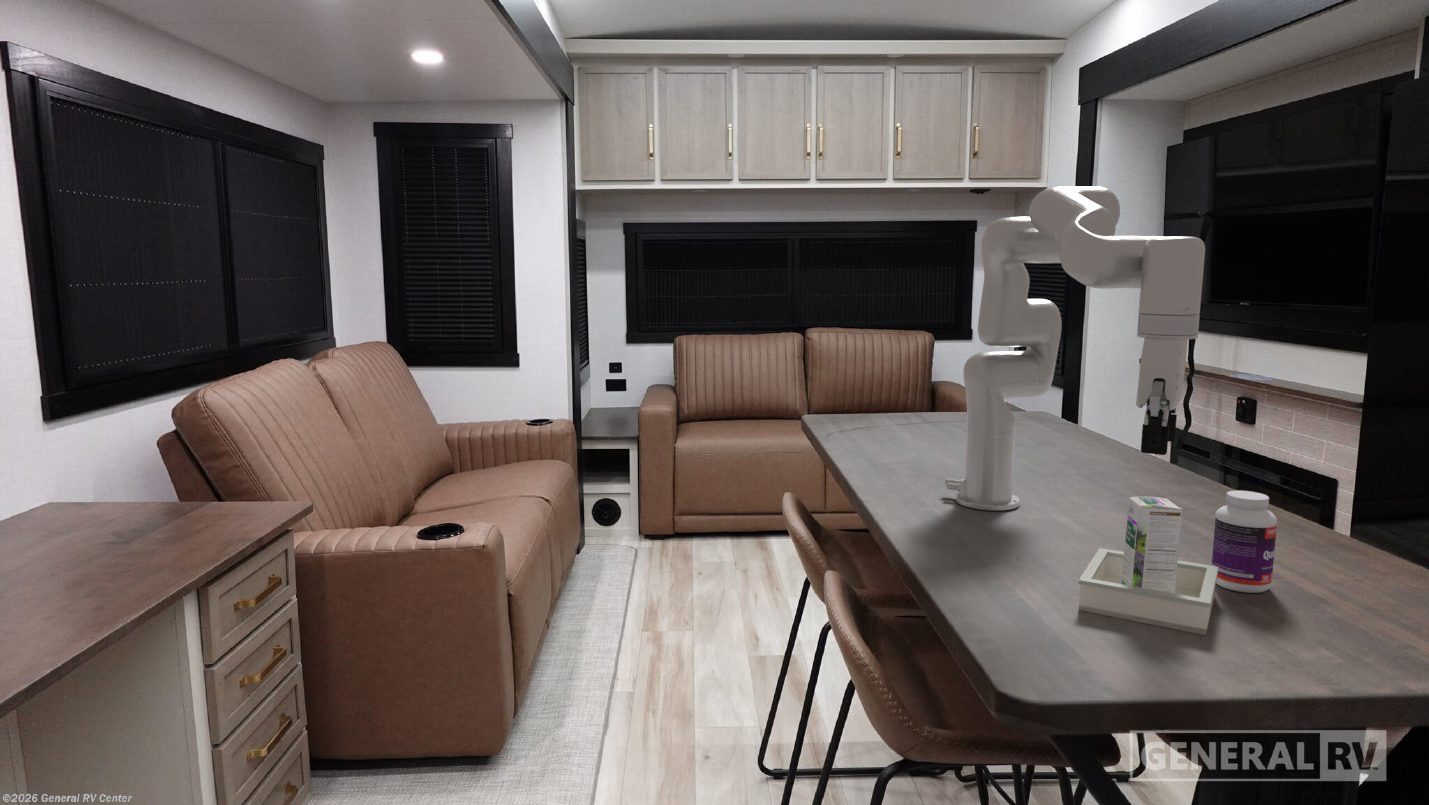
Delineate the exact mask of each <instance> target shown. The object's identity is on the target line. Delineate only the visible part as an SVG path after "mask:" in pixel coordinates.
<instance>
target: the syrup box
mask: <svg viewBox="0 0 1429 805" xmlns="http://www.w3.org/2000/svg"><path fill="white" fill-rule="evenodd" d="M1182 518H1183V508H1182V507H1179V506H1177V505H1176V504H1175V503H1174V502H1172V501H1171V500H1169V498H1164V497H1157V496H1130V497H1128V507H1127V515H1126V527H1125V528H1126V529H1125V538H1124V539H1125V540H1124V548H1123V549H1124V550H1123V552H1124V561H1123V573H1122V584H1123V585H1129V586H1135V587H1140V588H1146V589H1152V590H1157V591H1163V592H1169V593H1174V594H1175V587H1176V576H1177V564H1178V560H1179V550H1180V543H1181V542H1180V540H1181V530H1182V520H1183V519H1182Z"/></svg>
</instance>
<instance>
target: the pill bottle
mask: <svg viewBox="0 0 1429 805" xmlns="http://www.w3.org/2000/svg"><path fill="white" fill-rule="evenodd" d="M1225 500H1226V501H1225V502H1226V503H1227V504H1226V505H1223V506H1220V507H1219V508H1218V509H1217V510H1216V512H1215V516H1214V517H1215V520H1214V530H1213V531H1214V535H1213V543H1212V546H1213V547H1212V554H1211V556H1212V557H1211V565H1210V566H1217V567H1218V574H1217V578H1216V583H1215V585H1218V586H1220V587H1222V588H1224V589H1226V590H1230V591H1235V592H1240V593H1251V594H1254V593H1255V594H1257V593H1264V592H1266V591H1268V590H1269V589H1271V587H1272V582H1273V571H1274V560H1275V549H1276V539H1277V531H1278V530H1277V528H1278V519H1277V517H1276V515H1275V514H1274V513H1273V512H1272V511H1271V510H1268V509H1267V508H1269V505H1270V504H1269V503H1270V497H1269V496H1268V495H1267V494H1264V493H1260V492H1256V491H1252V490H1251V491H1249V490H1229V491H1227V492H1226V498H1225Z"/></svg>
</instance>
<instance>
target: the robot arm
mask: <svg viewBox="0 0 1429 805" xmlns="http://www.w3.org/2000/svg"><path fill="white" fill-rule="evenodd" d="M1117 197H1118V196H1116V195H1115V193H1114V192H1113V191H1112V190H1111V189H1108V188H1107V187H1102V186H1056V187H1049V188H1046V189H1044V190H1042V191H1041V192H1039V193H1038V194H1037V195H1036V196H1034V198H1033V200H1031V202H1030V205H1029V210H1028V216H1011V217H1010V216H1009V217H1002V218H999V219H996V220H993V221H991V222H990V223H989V224H988V225H987V226H986V229H985V230H984V233H983V235H982V239H981V260H982V265H983V274H984V278H983V285H982V292H981V298H980V306H979V315H978V320H977V321H978V322H977V333H978V339H979V340H980V341H981V343H983V345H985V346H988V347H993V348H1019V347H1020V348H1021V347H1022V348H1023V347H1024V348H1026V349H1025V350H998V351H997V350H993V351H991V350H990V351H983V352H978V353H975V354H973V355H971V356H970V357H969V358H967V360H966V362H965V364H964V366H963V381H964V382H963V383H964V389H965V398H966V433H965V434H966V438H965V463H964V464H965V465H964V466H965V467H964V478H961V479H955V478H949V477H946V479H945V481H944V483H945V484H944V486H945V487H946V489H947V490H952V491H954V490H955V491H957V492H958V493H957V494H956V499H955V500H956V502H957V503H958V504H960V505H961V506H964V507H966V508H968V509H969V508H970V509H973V510H981V511H992V512H993V511H994V512H995V511H996V512H997V511H998V512H999V511H1008V510H1009V511H1010V510H1013V509H1016V508H1018V507H1020V504H1021V500H1020V498H1019V497H1018V496H1017V495H1014V494H1013V488H1014V486H1013V485H1014V484H1013V483H1014V467H1015V466H1014V462H1015V461H1014V460H1015V444H1016V443H1015V441H1016V439H1015V438H1016V419H1015V416H1014V415H1015V414H1014V413H1013V412H1012V410H1011V408H1009V405H1008V404H1007V403H1006V401H1005V399H1012V398H1035V397H1036V398H1037V397H1041V396H1043V395H1045V394H1046V393H1047V392H1049V390H1050V388H1051V386H1052V383H1053V379H1054V376H1055V369H1056V365H1057V358H1058V352H1059V347H1060V341H1061V335H1062V326H1063V325H1062V317H1061V312H1060V310H1059V307H1058V306H1057V305H1056V304H1055V303H1054V302H1053V301H1051V300H1050V299H1049V300H1048V299H1045V298H1028V296H1029V294H1028V293H1029V289H1030V281H1031V280H1030V275H1029V272H1028V269H1027V268H1026V265H1025V264H1061V267H1062V269H1063V271H1064V272H1065V273H1066V274H1067V275H1069V277H1071V278H1073V279H1074V280H1076V281H1077V282H1079V283H1080V284H1082V285H1084V286H1087V287H1089V288H1092V289H1093V288H1094V289H1100V290H1101V289H1104V290H1105V289H1109V290H1110V289H1131V288H1132V289H1140V291H1139V301H1138V302H1139V304H1138V305H1139V306H1138V316H1137V317H1138V318H1137V319H1138V320H1137V331H1136V332H1137V333H1136V334H1137V335H1136V337H1138V338H1143V339H1144V340H1143V343H1142V349H1141V350H1142V352H1141V356H1140V357H1141V358H1140V366H1139V374H1138V384H1137V385H1138V386H1137V392H1136V393H1137V394H1136V402H1135V405H1136V406H1137V408H1138V409H1142V408H1143V407H1144V406H1145V407H1146V408H1145V414H1144V418H1143V419H1144V420H1143V423H1142V427H1141V428H1142V430H1141V444H1140V452H1141V453H1143V454H1148V455H1149V454H1152V455H1157V456H1158V455H1159V456H1165V455H1167V453H1168V445H1169V442H1170V443H1171V442H1174V441H1175V439H1176V430H1177V429H1176V428H1177V418H1178V417H1177V416H1178V414H1176V412H1177V407H1178V405H1179V403H1180V402H1181V399H1182V398H1181V397H1182V393H1183V387H1184V380H1185V374H1186V372H1185V371H1186V363H1187V353H1188V341H1189V340H1195V339H1198V336H1199V328H1200V314H1201V312H1200V311H1201V302H1202V293H1203V292H1202V291H1203V280H1204V268H1205V267H1204V266H1205V255H1206V246H1205V241H1203V240H1202V238H1199V237H1195V236H1160V235H1159V236H1158V235H1157V236H1156V235H1150V236H1148V235H1145V236H1144V235H1143V236H1142V235H1115V234H1116V230H1117V229H1116V228H1117V227H1116V226H1117V224H1118V223H1119V220H1120V217H1121V216H1120V215H1121V205H1120V200H1119V199H1118V198H1117Z"/></svg>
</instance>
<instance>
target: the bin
mask: <svg viewBox="0 0 1429 805" xmlns="http://www.w3.org/2000/svg"><path fill="white" fill-rule="evenodd" d="M1123 561H1124V551H1122V550H1114V549H1109V548H1102V547H1099V548H1098V550H1097V551H1096V552H1095V553H1094V556H1093V557H1092V559H1091V560H1090V561H1089V563H1088V565H1087V567H1086V568H1085V570H1084V571H1083V573H1082V574H1081V575H1080V578H1079V579H1078V584H1079V598H1078V599H1079V600H1078V611H1080V612H1086V613H1090V614H1091V613H1092V614H1097V615H1102V616H1107V617H1111V618H1116V619H1120V620H1127V621H1131V622H1137V623H1142V624H1146V625H1147V624H1148V625H1151V626H1157V627H1160V628H1161V627H1163V628H1166V629H1167V628H1168V629H1172V630H1178V631H1182V632H1186V633H1193V634H1198V635H1204V636H1207V633H1208V627H1209V623H1210V619H1211V614H1212V610H1213V609H1212V608H1213V605H1214V601H1215V595H1216V594H1215V593H1216V591H1215V590H1216V578H1217V574H1218V567H1217V566H1211V565H1209V564H1203V563H1197V562H1189V561H1184V560H1179V559H1178V564H1177V576H1176V587H1175V594H1174V593H1169V592H1163V591H1157V590H1152V589H1146V588H1140V587H1135V586H1129V585H1123V584H1122V573H1123Z"/></svg>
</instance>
